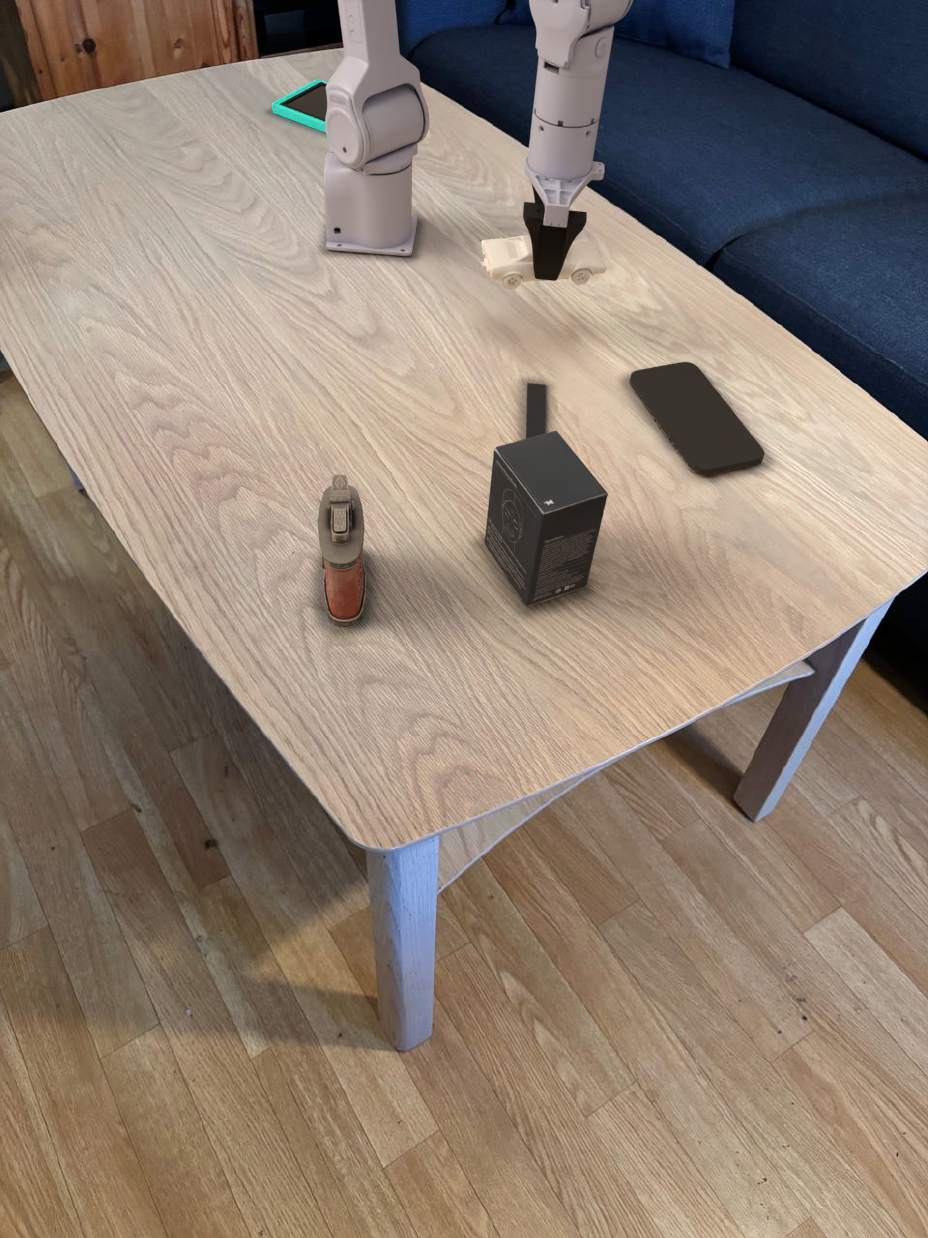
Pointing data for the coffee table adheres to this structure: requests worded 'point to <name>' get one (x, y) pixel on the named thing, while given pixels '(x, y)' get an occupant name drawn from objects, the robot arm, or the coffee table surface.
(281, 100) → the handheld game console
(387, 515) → the coffee table surface
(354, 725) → the coffee table surface
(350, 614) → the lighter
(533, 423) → the tape line
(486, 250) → the toy car
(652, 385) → the phone
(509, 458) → the box
